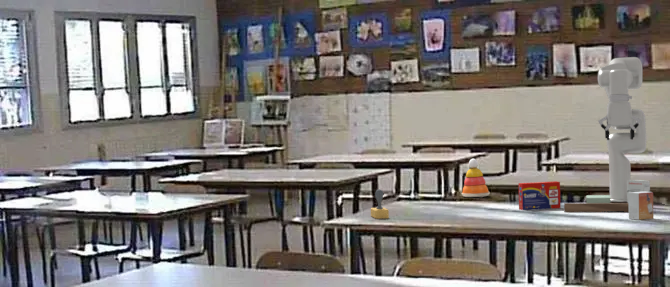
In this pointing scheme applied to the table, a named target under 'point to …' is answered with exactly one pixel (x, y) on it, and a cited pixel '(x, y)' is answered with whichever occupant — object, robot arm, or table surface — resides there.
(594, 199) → the green block
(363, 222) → the table surface
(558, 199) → the toy box
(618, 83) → the robot arm
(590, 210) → the walnut board
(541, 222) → the table surface
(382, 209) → the rubber stamp
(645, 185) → the ink box
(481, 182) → the stacking toy
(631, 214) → the small box
